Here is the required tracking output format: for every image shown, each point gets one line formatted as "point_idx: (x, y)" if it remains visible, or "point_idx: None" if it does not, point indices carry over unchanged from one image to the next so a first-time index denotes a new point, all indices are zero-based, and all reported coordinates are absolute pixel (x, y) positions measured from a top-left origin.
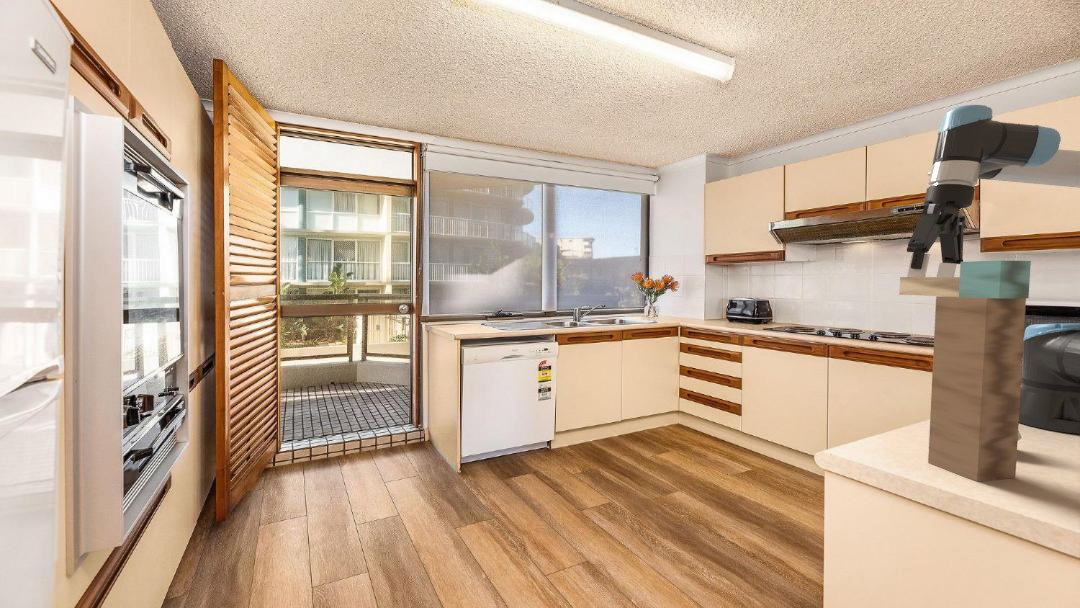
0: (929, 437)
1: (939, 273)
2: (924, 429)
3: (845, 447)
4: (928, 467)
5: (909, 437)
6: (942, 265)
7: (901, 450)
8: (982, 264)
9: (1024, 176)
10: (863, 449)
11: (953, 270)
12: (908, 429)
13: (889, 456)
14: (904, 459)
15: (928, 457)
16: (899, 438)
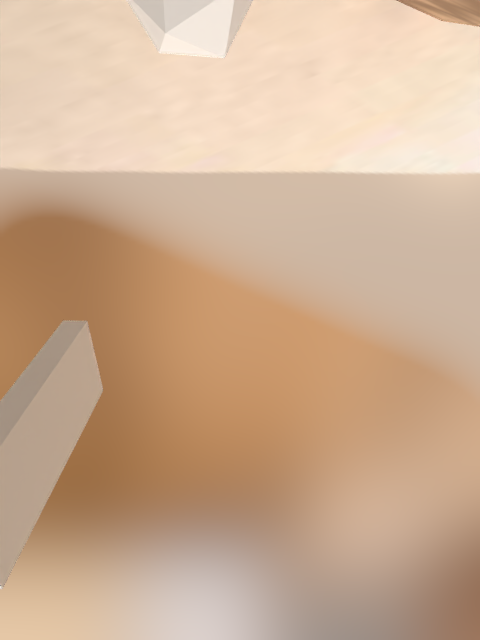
0: (469, 24)
1: (44, 486)
2: (165, 146)
3: (458, 169)
4: None
5: (269, 134)
6: (6, 547)
7: (389, 97)
8: None
9: None
10: (445, 144)
11: (2, 447)
12: (201, 166)
13: (455, 91)
14: (453, 63)
15: (446, 21)
16: (297, 142)
